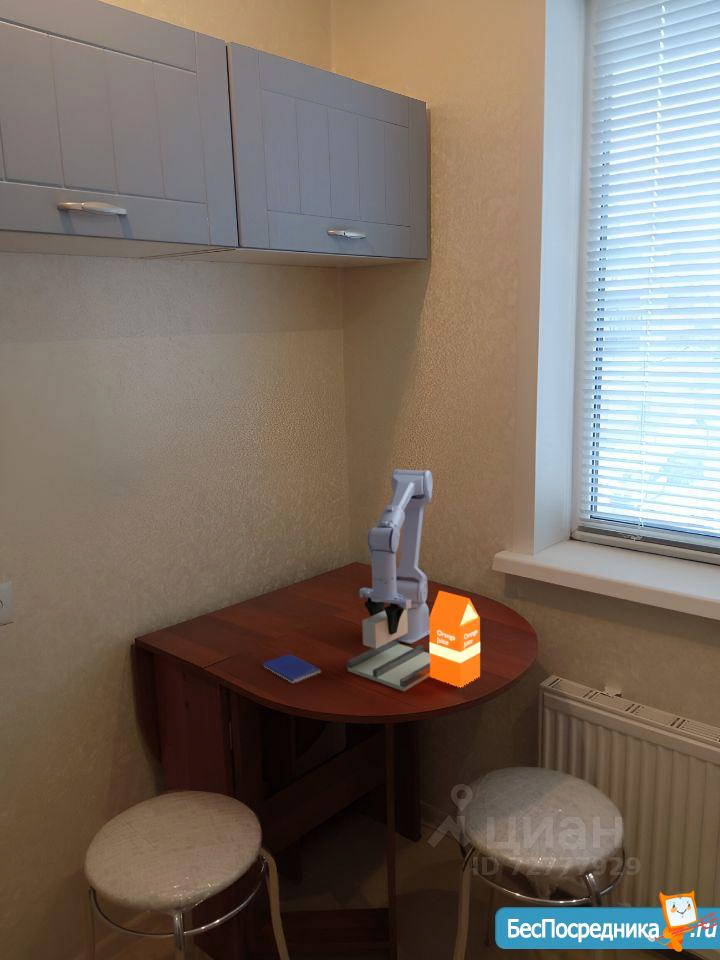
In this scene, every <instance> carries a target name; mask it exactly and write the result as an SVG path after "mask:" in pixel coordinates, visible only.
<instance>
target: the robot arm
mask: <svg viewBox="0 0 720 960" xmlns="http://www.w3.org/2000/svg"><path fill="white" fill-rule="evenodd" d="M433 480H434V479H433V474H432V473H431V471H430V470H428V469H426V470H419V469H418V470H416V469H415V470H414V469H399V468H396V469H394V470H393V472H392V474H391V478H390V484H391V485H390V486H391V489H392V496H391V500H390V503H389V505H386V506H385V507H384V508H383V509H382V511H381V514H380V516H379V518H378V521H377V523H376V525H375V526H373V527H372V528H370V529H369V530H368V533H367V536H366V537H367V539H366V546H367V549H368V553H369V555H368V556H369V559H371V578H372V579H371V583H372V585H371V586H372V587H371V588H368V587H363V588H360V589H359V598H366V599H367V601H364V607H365V608H366V610H367V611H368V613H369V617H371V616H374V615H376V614H378V613H380V612H382V611H385V612H386V615H387V619H388V629H389V634H391V635H392V634H394V633H396V632H397V628H398V624H399V620H400V618H401V615H402V613H403V611H404V609H406V610H407V621H408V633H406V634H404V635H402V636H400V637H398V638H399V642H402V643H405V644H410V645H412V644H414V643H416V642H418V641H420V640H421V639H423V638H426V637H427V636H430V629H429V617H430V609H429V607H428V605H427V603H426V601H427V599H428V592H429V591H428V577H427V575H426V574H425V573H424V572H423V571H422V570H421V569H420V568H419V567H418V566H419V557H420V546H421V538H422V529H423V528H422V527H423V518H424V511H425V507H426V505H428V504H430V503H431V499H432V497H433V485H434V481H433ZM402 526H403V528H402ZM401 529H402V539H401V549H400V550H401V551H400V557H399V565H398V567H397V558H396V557H397V556H396V552H397V550H398V549H399V544H400V538H401V532H400V531H401ZM385 604H389V605H388V606H385Z"/></svg>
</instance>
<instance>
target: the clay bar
mask: <svg viewBox="0 0 720 960" xmlns="http://www.w3.org/2000/svg"><path fill="white" fill-rule="evenodd" d="M361 622H362V624H361V625H362V645H364V646H366V647H369V648H371V649H372V648H375V649H377V648H378V647H380V646H382V645H384V644H386V643H388V642H390V641H392V640H394V639H396V638H398V637H400V636H402V635H404V634H406V633H408V621H407V610H406V609H404V611H403V613H402V615H401V618H400V620H399V624H398V628H397V632H396V633H394V634H392V635H391V634H389V629H388V619H387V615H386V612H385V610H383V611H382V612H380V613H378V614H376V615H374V616H369V617H367V618H365V619H362V621H361Z"/></svg>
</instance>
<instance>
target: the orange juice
mask: <svg viewBox="0 0 720 960" xmlns="http://www.w3.org/2000/svg"><path fill="white" fill-rule="evenodd" d="M480 629H481V616H479V614H478V613H477V610H476V609H475V607H474V605H473V603H472V600H471V599H470V598H469V597H465V596H462V595H458V594H454V593H451V592H450V593H449V592H447V591H442V590H439V591H438V594H437V596H436V599H435V602H434V603H433V607H432V609H431V613H430V614H429V631H430V634H429V653H430V676H429V677H430V678H432V679H434V678H435V680H438V681H440V682H442V683H445V682H446V684H448V683H449V684H448V685H452V686H455V687H456V686H457V687H456V688H459V687H460V688H459V689H461V687H462V688H464V687H465V686H467V685H469V684H470V683H472V682H474V681H475V680H477V679H479V678H480V677H481V630H480ZM478 677H479V678H478ZM476 678H477V679H476ZM474 679H475V680H474ZM471 681H472V682H471ZM469 682H470V683H469ZM466 684H467V685H466ZM464 685H465V686H464Z"/></svg>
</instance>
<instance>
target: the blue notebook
mask: <svg viewBox="0 0 720 960" xmlns="http://www.w3.org/2000/svg"><path fill="white" fill-rule="evenodd" d="M263 666H264V667H265V668H264V667H263ZM262 667H263V668H264V669H266V668H267V669H266V670H268V669H269V670H271V671H272V672H271V671H270V672H271V673H273V672H274V673H273V674H275V673H276V674H277V676H278V675H279V677H280V676H281V677H280V678H282V677H283V678H282V679H284V680H285V679H286V680H285V681H287V680H288V681H287V682H289V683H290V684H292V683H293V684H296V683H299V682H301V681H303V679H304V680H306V679H308V677H309V678H310V676H311V677H313V675H314V676H316V675H318V674H317V673H319V674H321V672H322V670H321V669H320V668H318V667H316V666H314V665H312V664H310V663H308V662H307V661H304V660H302V659H301V658H299V657H296V656H295V655H293V654H291V653H290V654H289V653H288V654H286V655H283V656H280V657H277V658H274V659H271V660H269V661H265V662H264V663H263V665H262ZM269 670H268V671H269ZM276 674H275V675H276ZM315 674H316V675H315ZM305 678H306V679H305ZM295 682H296V683H295Z"/></svg>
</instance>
